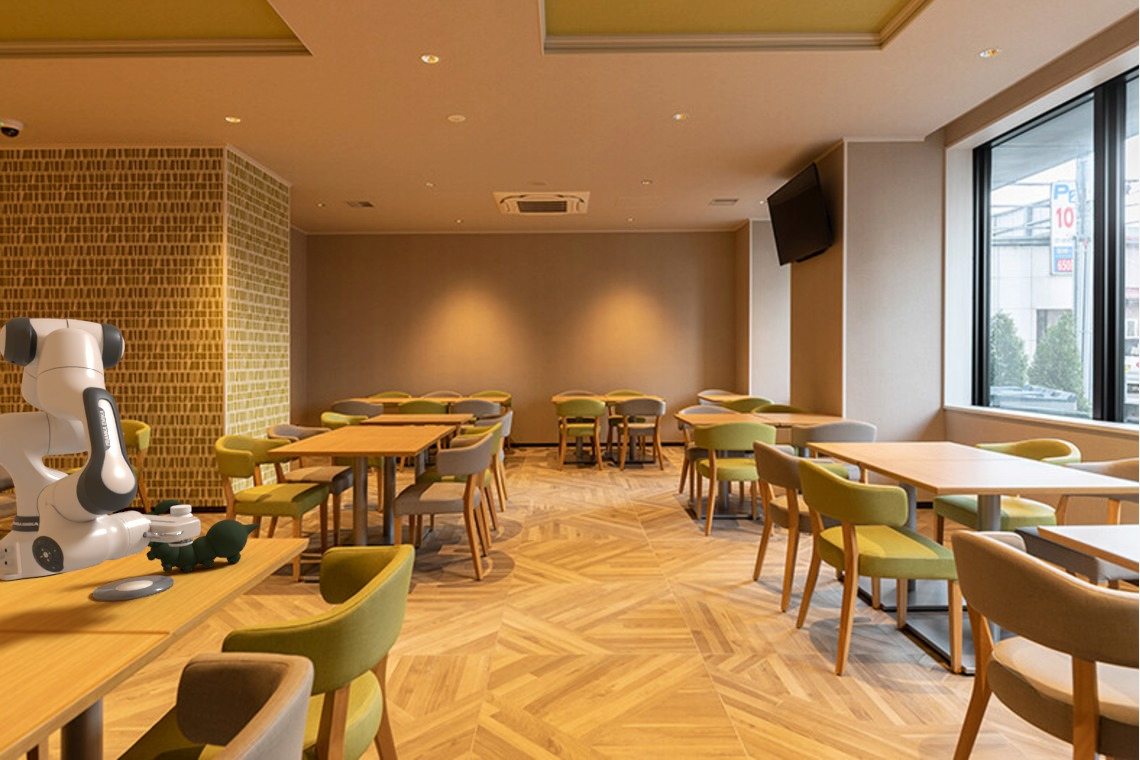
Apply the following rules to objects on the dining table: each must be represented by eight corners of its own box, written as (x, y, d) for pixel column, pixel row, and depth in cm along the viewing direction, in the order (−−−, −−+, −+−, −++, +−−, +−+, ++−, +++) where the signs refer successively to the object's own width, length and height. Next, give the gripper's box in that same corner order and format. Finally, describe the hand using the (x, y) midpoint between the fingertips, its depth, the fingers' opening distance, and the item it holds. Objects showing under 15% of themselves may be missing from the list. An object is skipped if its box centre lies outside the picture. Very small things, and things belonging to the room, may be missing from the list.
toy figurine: (152, 588, 155) (267, 559, 169) (141, 508, 153) (258, 486, 168) (148, 578, 162) (258, 551, 177) (138, 501, 161) (250, 481, 176)
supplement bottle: (181, 547, 145) (181, 508, 145) (163, 546, 146) (162, 508, 146) (198, 541, 150) (197, 504, 149) (180, 540, 151) (179, 503, 150)
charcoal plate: (75, 597, 144) (75, 593, 144) (138, 576, 158) (138, 572, 158) (129, 604, 139) (129, 599, 139) (189, 581, 154) (189, 578, 154)
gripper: (166, 521, 132) (221, 507, 145) (89, 515, 138) (148, 502, 151) (167, 553, 132) (221, 536, 146) (89, 545, 138) (149, 530, 151)
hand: (184, 519), depth 148 cm, fingers closed on supplement bottle, 5 cm apart
